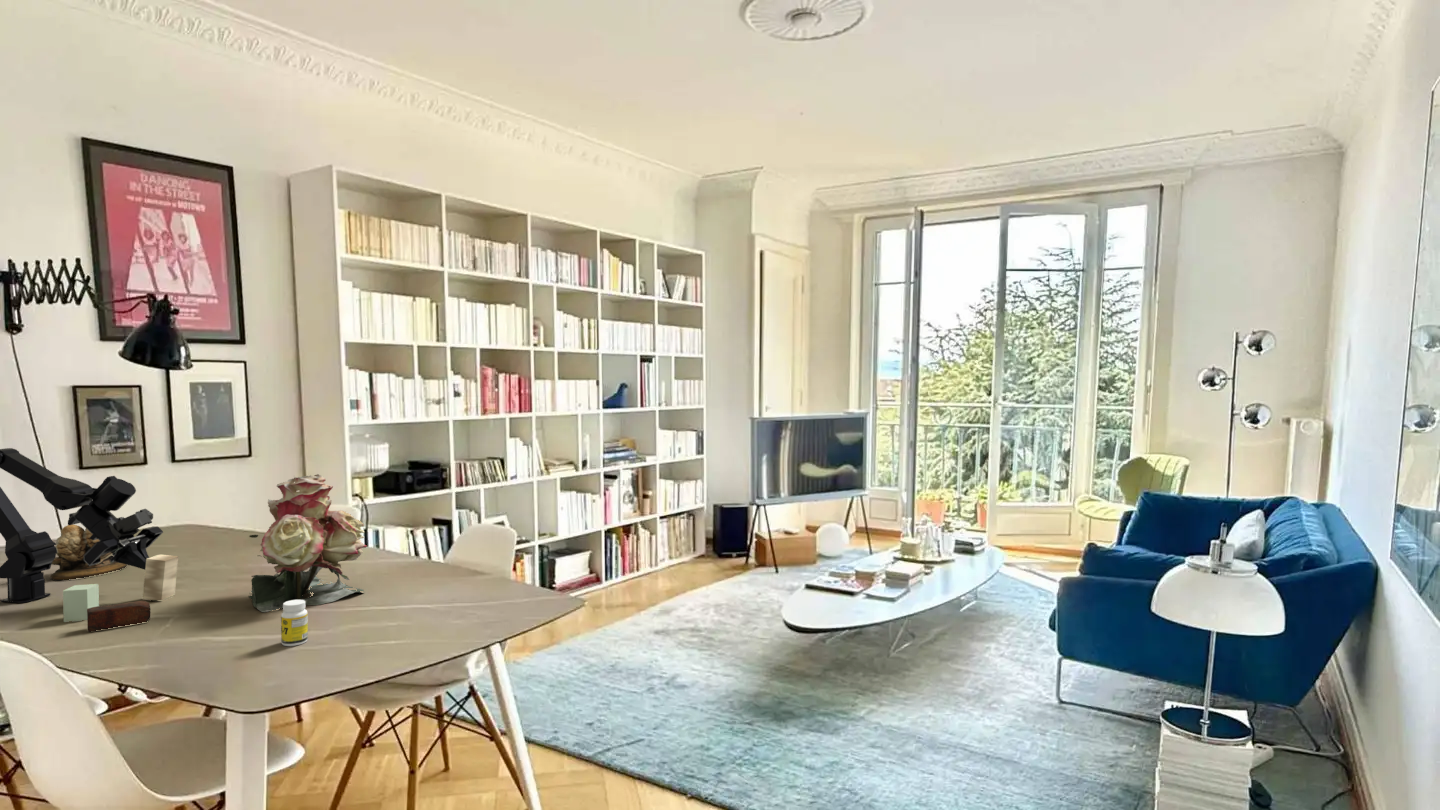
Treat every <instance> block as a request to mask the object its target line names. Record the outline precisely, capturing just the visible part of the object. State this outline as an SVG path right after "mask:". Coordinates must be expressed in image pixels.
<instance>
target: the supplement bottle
mask: <svg viewBox="0 0 1440 810" xmlns="http://www.w3.org/2000/svg"><path fill="white" fill-rule="evenodd" d="M308 614H309V613H308V610H307V609H306V605H305V601H304V600H301V599H296V600H291V601H287V602H284V603H283V609H282V612H281V614H280V623H281V625H280V626H281V627H280V629H281V630H280V632H281V633H280V634H281V635H280V636H281V637H280V638H281V639H280V641H281V645H283V647H284V646H285V647H295V646H299V645H302V644H305V643H306V642H307V641H309V640H308V639H309V637H308V636H309V633H308V628H309V627H308V626H309V625H308V623H309V621H308Z"/></svg>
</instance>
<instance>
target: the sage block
mask: <svg viewBox="0 0 1440 810" xmlns="http://www.w3.org/2000/svg"><path fill="white" fill-rule="evenodd" d="M99 588H100V587H99V583H94V584H93V583H91V584H89V583H88V584H74V585H72V586H71V587H68V588H66V589H64V590H63V591H62V600H63V601H62V604H63V607H62V608H63V609H62V610H63V611H62V612H63V622H64V623H67V622H68V623H70V622H69V621H72V622H83V621H82V620H87V609H88V608H92V607H97V606H100V603H99V602H100V600H99V599H100V598H99V595H100V593H99V591H100V590H99Z"/></svg>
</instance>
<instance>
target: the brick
mask: <svg viewBox="0 0 1440 810" xmlns="http://www.w3.org/2000/svg"><path fill="white" fill-rule="evenodd" d="M150 604H151V603H149V602H147V600H136V601H130V602H125V603H124V602H123V603H116V604H106V605H99V606H97V607H92V608H88V609H87V622H86V623H87V624H86V625H87V628H86V629H87V632H88V633H92V632H91V631H96V630H101V629H108V628H113V627H118V626H125V625H130V624H137V623H142V622H147V621H148V622H149V621H150V619H151V613H152V612H151V605H150ZM101 631H102V630H101ZM96 632H97V631H96Z"/></svg>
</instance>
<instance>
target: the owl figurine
mask: <svg viewBox="0 0 1440 810" xmlns="http://www.w3.org/2000/svg"><path fill="white" fill-rule="evenodd" d="M92 535H93V534H92V533H91V532H90V531H88V530H87V529H86V528H85V529H84V528H83V527H82V526H80V525H77V524H73V525H68V524H67V525H65V526H64V527H62V529H61V530H60V536H59V537H57V539H56V541H55V543H56V545H54V546H55V547H56V549H57V553H56V557H55V559H54V560H53V562H52V565H51V566H59V568H58V569H56V570H55V571H54V573H52V574H51V575H50V579H51V580H53V581H55V580H69V579H76V578H84V577H89V576H94V575H99V574H104V573H108V572H112V571H116V570H120V569H122V568H125V567H126V566H127V567H128V565H127V564H123V563H119V562H111V561H110V560H111V559H112V558H113V557H114V556H113V555H112V554H113V553H111V552H110V553H107V554H104V555H101V556H100V558H101V561H100V563H98V564H95V565H92V566H89V565H88V564H87V563H86V562H85V561H84V554H85V553H86V552H87V551H88V550H89V549H90V548H91V547H92V546H93V545H94V544H95V543H96V542H98V541H99V540H98V539H96V540H92V539H91V538H90V537H91V536H92ZM127 567H126V568H127ZM126 568H125V569H126ZM120 571H121V570H120ZM84 579H85V578H84ZM69 581H70V580H69Z"/></svg>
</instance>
